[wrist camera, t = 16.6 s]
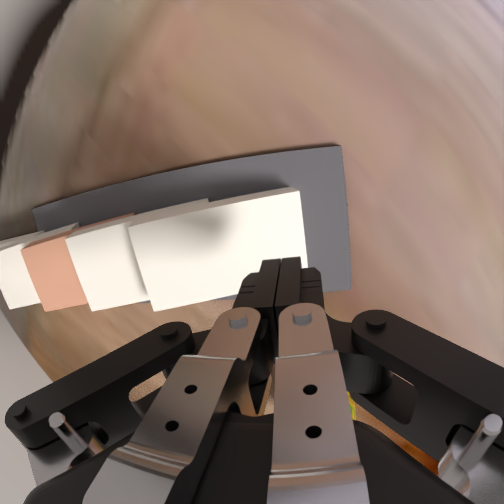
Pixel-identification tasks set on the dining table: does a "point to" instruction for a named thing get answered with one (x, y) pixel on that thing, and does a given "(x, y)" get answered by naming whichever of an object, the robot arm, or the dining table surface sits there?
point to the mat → (232, 185)
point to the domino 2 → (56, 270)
